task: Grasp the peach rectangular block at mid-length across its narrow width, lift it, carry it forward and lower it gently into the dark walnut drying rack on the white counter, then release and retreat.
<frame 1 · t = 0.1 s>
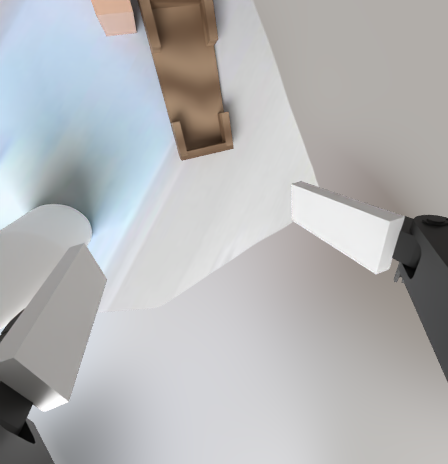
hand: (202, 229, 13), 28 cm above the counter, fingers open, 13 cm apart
wine bottle: (62, 227, 36), on the counter
rack: (190, 86, 32), on the counter
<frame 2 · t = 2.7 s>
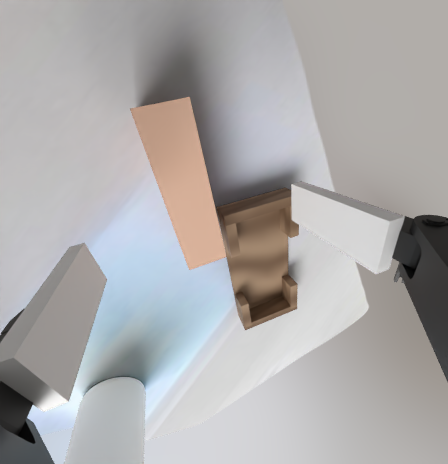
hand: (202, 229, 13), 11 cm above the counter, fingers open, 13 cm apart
peach rectangular block: (180, 183, 22), on the counter
wine bottle: (115, 390, 34), on the counter
rack: (258, 260, 30), on the counter
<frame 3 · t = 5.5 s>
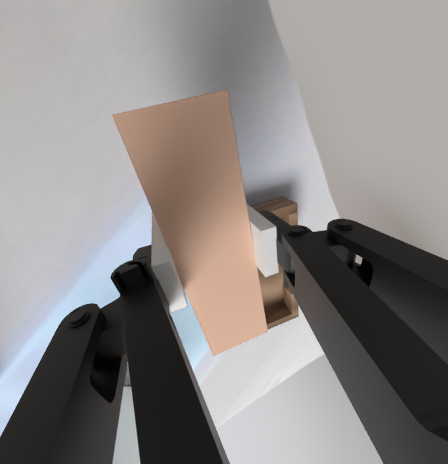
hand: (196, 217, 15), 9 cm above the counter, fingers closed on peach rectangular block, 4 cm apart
peach rectangular block: (196, 219, 15), point 9 cm above the counter, touching gripper
wine bottle: (117, 400, 34), on the counter
rack: (259, 268, 31), on the counter
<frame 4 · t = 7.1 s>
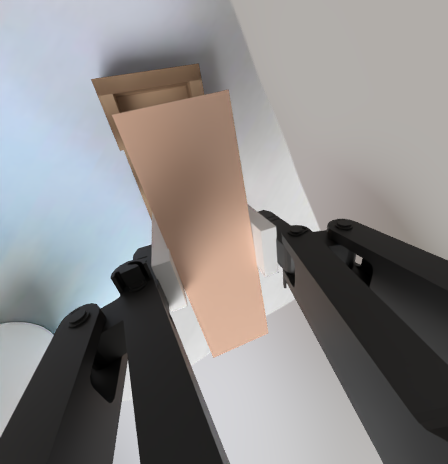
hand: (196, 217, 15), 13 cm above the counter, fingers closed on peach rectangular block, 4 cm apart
peach rectangular block: (197, 220, 15), point 12 cm above the counter, touching gripper
wine bottle: (19, 341, 29), on the counter
rack: (177, 177, 25), on the counter
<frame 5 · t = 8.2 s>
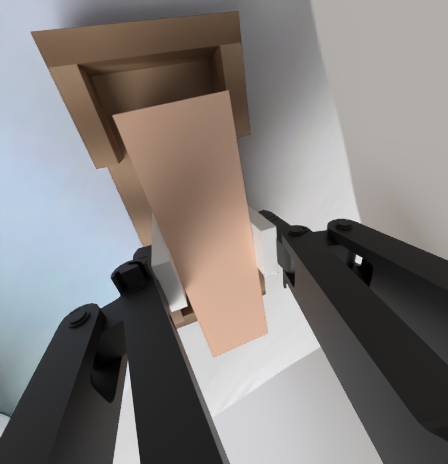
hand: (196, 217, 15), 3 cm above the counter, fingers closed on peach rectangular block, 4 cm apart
peach rectangular block: (197, 220, 15), point 2 cm above the counter, touching gripper
rack: (189, 203, 17), on the counter
when the fingers open (1 cm above the counter, at t = 8.8 s): peach rectangular block stays where it is, resting on rack.
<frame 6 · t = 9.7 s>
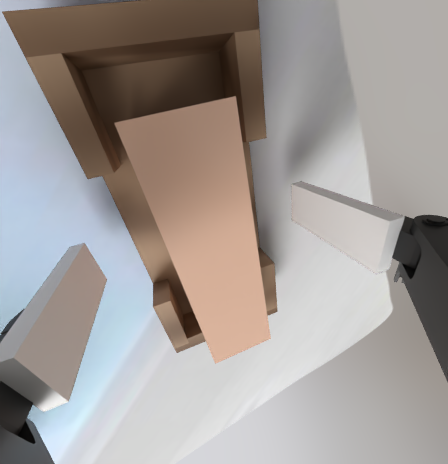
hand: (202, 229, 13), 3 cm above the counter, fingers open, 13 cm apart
peach rectangular block: (198, 224, 15), resting on rack
rack: (195, 214, 15), on the counter
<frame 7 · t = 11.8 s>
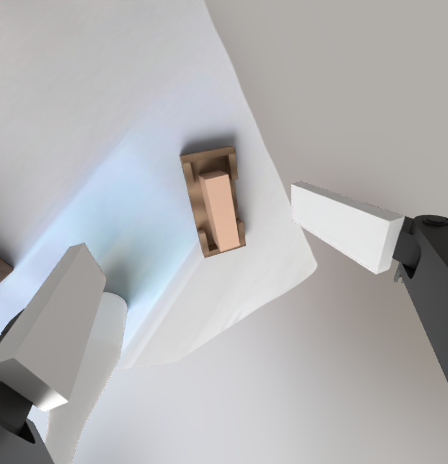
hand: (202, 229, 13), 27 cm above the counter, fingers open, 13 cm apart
peach rectangular block: (215, 206, 41), resting on rack
wine bottle: (104, 307, 44), on the counter
rack: (214, 203, 41), on the counter
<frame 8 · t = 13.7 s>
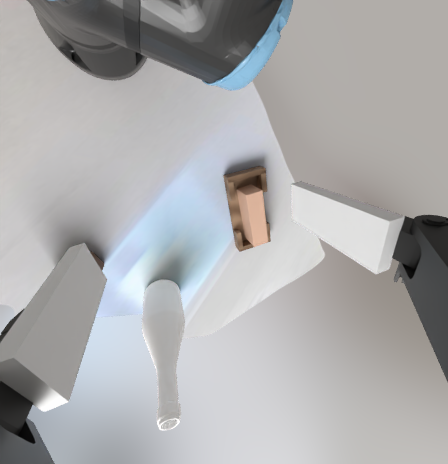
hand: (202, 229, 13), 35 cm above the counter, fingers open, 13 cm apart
peach rectangular block: (247, 212, 53), resting on rack
wine bottle: (162, 291, 57), on the counter
rack: (246, 209, 53), on the counter
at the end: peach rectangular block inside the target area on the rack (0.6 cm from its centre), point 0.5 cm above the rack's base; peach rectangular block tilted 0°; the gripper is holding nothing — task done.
